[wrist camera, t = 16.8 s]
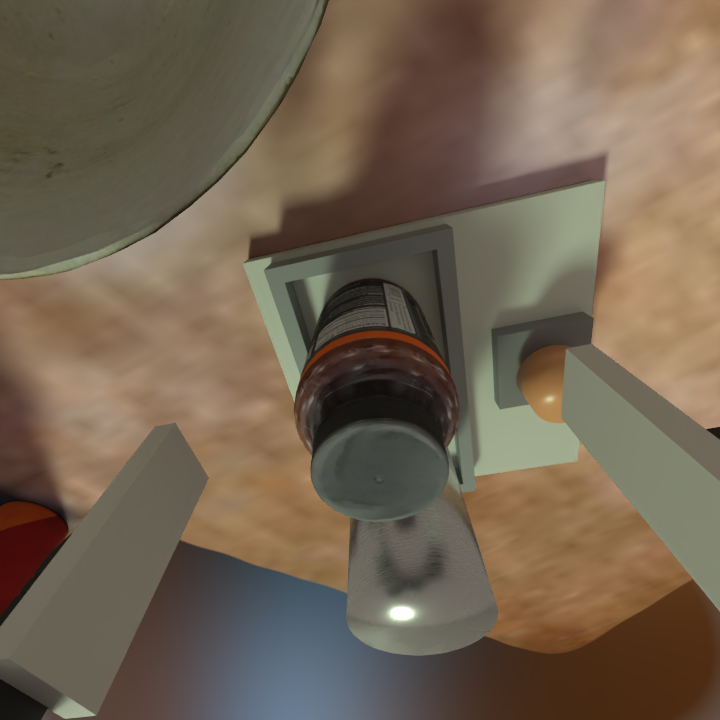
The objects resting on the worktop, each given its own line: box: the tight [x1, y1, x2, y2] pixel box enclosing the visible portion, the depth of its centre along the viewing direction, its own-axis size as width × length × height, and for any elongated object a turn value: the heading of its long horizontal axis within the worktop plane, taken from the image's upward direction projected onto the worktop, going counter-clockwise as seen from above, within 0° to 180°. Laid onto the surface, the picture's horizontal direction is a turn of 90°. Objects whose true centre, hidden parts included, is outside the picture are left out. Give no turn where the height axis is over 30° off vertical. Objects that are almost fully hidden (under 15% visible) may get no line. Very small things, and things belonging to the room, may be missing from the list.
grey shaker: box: [347, 447, 498, 655], centre depth 19 cm, size 6×6×11 cm
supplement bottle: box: [294, 278, 459, 522], centre depth 15 cm, size 6×6×11 cm
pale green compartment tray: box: [243, 180, 605, 492], centre depth 21 cm, size 18×18×2 cm
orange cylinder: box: [516, 345, 572, 423], centre depth 18 cm, size 4×4×2 cm
